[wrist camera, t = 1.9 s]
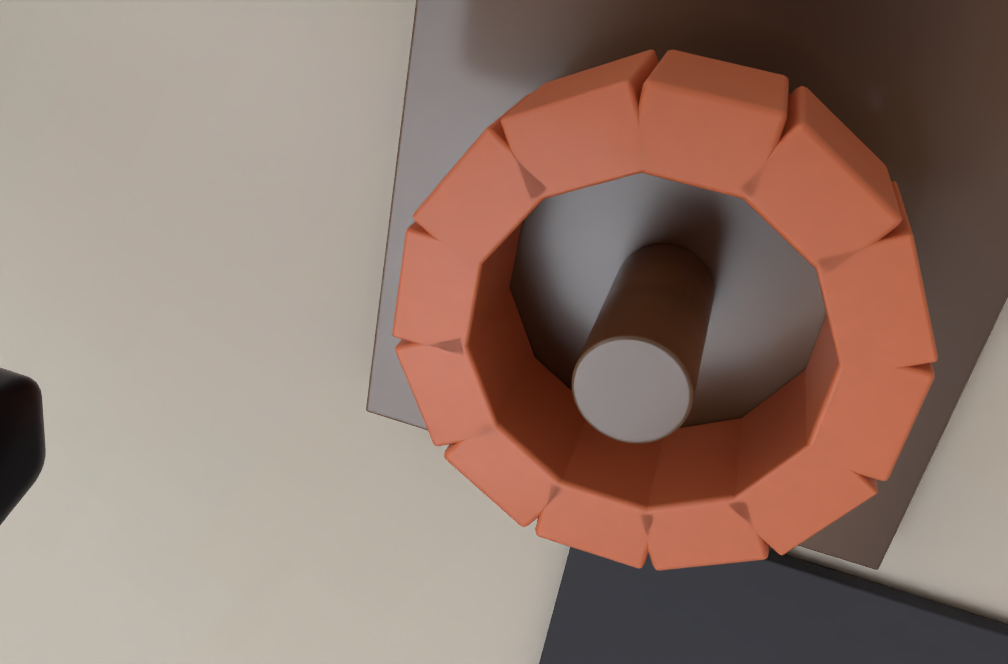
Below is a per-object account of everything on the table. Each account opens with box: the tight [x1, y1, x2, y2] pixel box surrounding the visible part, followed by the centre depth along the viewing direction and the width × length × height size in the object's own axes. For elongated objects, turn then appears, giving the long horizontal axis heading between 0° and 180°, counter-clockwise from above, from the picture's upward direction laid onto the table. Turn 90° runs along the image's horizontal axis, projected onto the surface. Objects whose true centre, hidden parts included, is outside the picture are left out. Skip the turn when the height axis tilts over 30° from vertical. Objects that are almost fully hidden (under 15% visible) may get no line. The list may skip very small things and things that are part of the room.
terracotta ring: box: [392, 50, 938, 571], centre depth 14 cm, size 7×7×2 cm
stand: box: [366, 0, 1008, 570], centre depth 15 cm, size 11×11×6 cm
